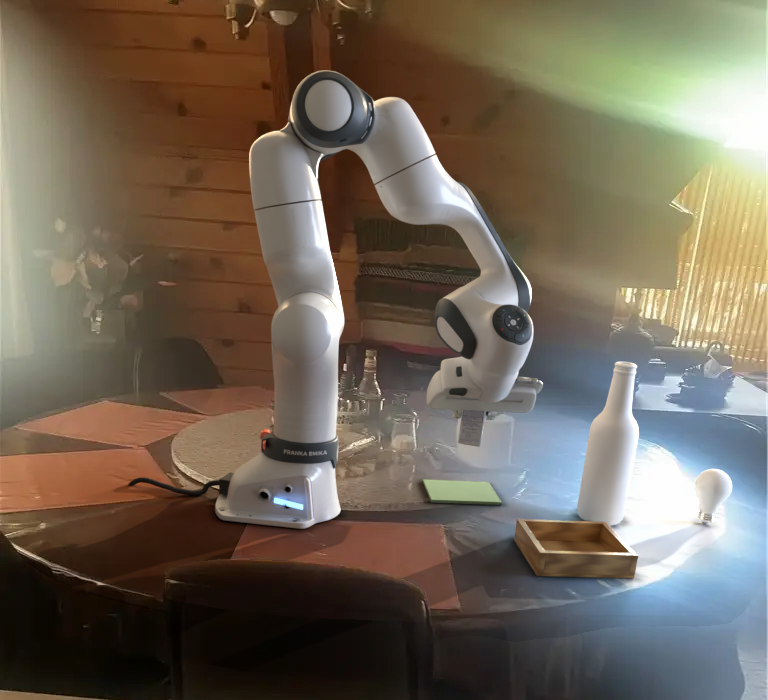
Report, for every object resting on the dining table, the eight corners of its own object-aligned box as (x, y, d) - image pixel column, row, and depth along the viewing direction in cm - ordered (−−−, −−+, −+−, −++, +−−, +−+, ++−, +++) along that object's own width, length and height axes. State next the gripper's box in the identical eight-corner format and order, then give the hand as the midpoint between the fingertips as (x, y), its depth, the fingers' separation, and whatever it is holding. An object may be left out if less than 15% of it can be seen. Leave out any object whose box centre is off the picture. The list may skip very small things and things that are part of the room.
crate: (536, 576, 119) (540, 552, 117) (514, 539, 132) (516, 518, 131) (634, 578, 120) (638, 555, 119) (602, 542, 134) (605, 521, 132)
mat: (431, 502, 147) (431, 499, 146) (422, 481, 158) (422, 479, 158) (501, 505, 148) (502, 502, 148) (488, 484, 160) (488, 481, 159)
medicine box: (480, 447, 145) (487, 403, 142) (457, 443, 145) (463, 400, 143) (481, 437, 152) (488, 395, 150) (459, 434, 153) (466, 392, 150)
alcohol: (590, 506, 151) (615, 357, 142) (631, 519, 146) (659, 365, 137) (567, 515, 145) (592, 360, 136) (609, 530, 140) (638, 369, 130)
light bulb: (729, 525, 147) (742, 472, 143) (712, 532, 142) (725, 477, 139) (697, 514, 151) (709, 462, 148) (680, 520, 147) (691, 467, 144)
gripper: (544, 365, 138) (523, 405, 150) (433, 359, 136) (421, 399, 148) (548, 394, 135) (526, 432, 147) (435, 388, 133) (422, 427, 145)
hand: (472, 416), depth 148 cm, fingers closed on medicine box, 5 cm apart
